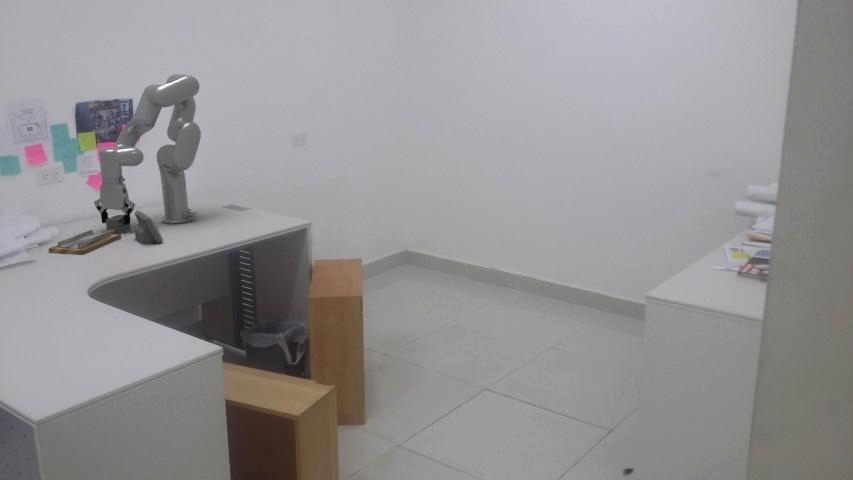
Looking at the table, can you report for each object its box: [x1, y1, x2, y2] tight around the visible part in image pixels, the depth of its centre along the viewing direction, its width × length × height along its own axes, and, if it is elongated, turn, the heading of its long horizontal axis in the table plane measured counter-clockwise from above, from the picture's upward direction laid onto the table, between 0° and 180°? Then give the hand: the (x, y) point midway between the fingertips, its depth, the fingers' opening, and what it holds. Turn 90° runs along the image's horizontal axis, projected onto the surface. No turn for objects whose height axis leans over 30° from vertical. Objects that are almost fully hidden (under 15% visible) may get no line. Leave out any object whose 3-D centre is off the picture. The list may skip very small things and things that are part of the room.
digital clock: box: [134, 210, 164, 245], centre depth 276 cm, size 16×9×11 cm, turn 25°
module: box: [105, 214, 132, 235], centre depth 289 cm, size 5×9×6 cm, turn 168°
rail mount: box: [48, 229, 122, 256], centre depth 270 cm, size 14×22×3 cm, turn 168°
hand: (116, 223), depth 288 cm, fingers open, 9 cm apart
